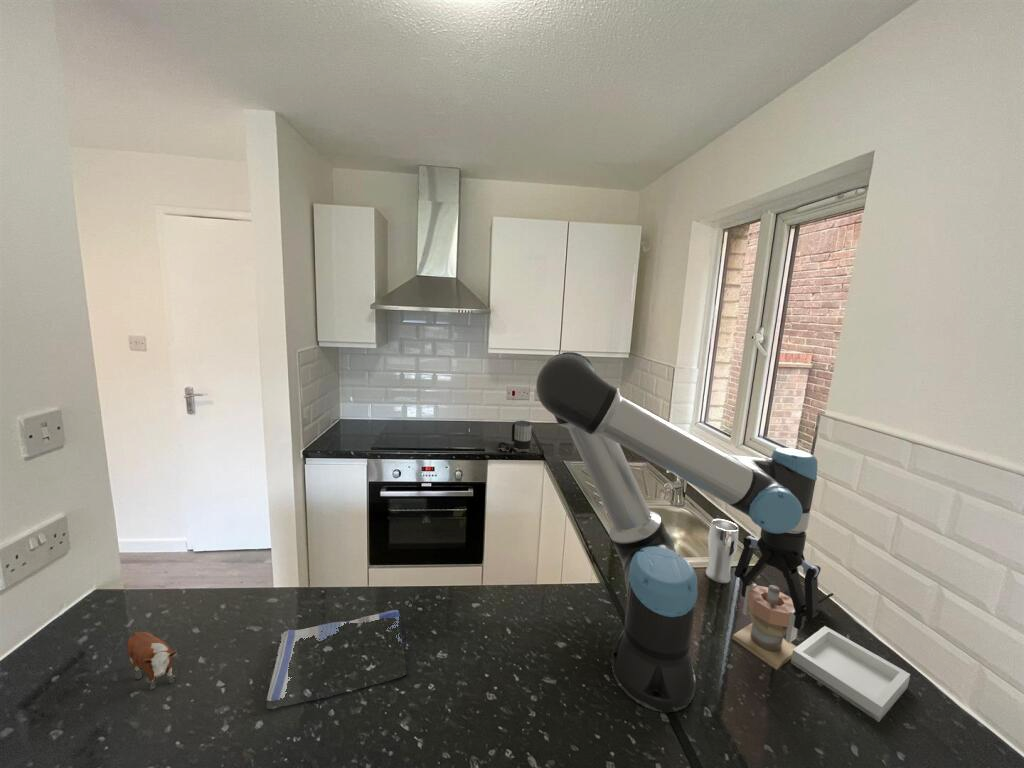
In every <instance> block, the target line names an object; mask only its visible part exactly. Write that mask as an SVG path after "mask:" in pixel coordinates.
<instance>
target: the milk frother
mask: <svg viewBox="0 0 1024 768" xmlns="http://www.w3.org/2000/svg"><path fill="white" fill-rule="evenodd" d="M532 427H533V422H531V421H527V420H516V421H514V423H512V425H511V442H513V447H515V448H518V449H529V448H530V449H531V438H532ZM505 445H507V446H508V445H510V444H508V443H506V442H503V441H500V442H498V444H497V449H498V448H501V447H502V448H505V449H506V447H507V446H505Z"/></svg>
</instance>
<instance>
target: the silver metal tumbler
mask: <svg viewBox="0 0 1024 768" xmlns="http://www.w3.org/2000/svg"><path fill="white" fill-rule="evenodd" d="M739 529H740V527H739V526H738V525H737V524H736V523H734V522H732V521H729V520H726V519H721V518H714V519H712V520H711V523H710V526H709V532H708V538H707V543H708V547H707V549H708V563H707V566H706V569H705V575H706V576H707V578H709V579H710V580H712V581H714V582H717V583H719V584H728V583H730V582H731V579H732V577H731V567H732V563H733V561H734V558H735V555H736V553H737V548H738V543H739V531H740V530H739Z"/></svg>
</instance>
